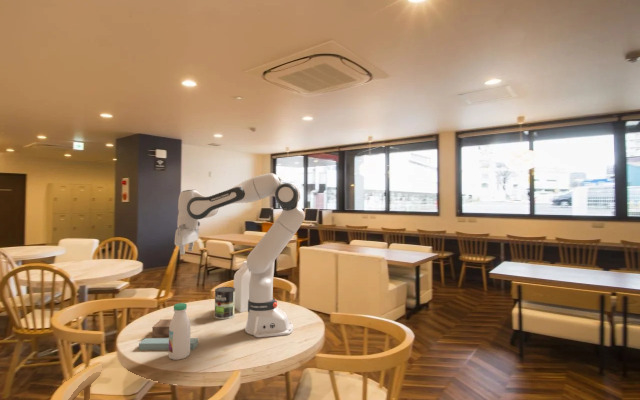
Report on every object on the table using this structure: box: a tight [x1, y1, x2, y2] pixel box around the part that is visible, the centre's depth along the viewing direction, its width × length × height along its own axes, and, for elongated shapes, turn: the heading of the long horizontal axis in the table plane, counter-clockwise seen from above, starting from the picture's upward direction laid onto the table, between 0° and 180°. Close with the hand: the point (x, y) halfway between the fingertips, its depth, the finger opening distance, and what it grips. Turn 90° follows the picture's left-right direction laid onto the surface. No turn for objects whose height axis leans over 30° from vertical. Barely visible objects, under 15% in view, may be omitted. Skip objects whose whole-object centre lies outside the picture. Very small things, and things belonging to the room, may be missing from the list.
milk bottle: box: [168, 302, 191, 361], centre depth 126 cm, size 8×8×20 cm
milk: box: [233, 260, 251, 313], centre depth 183 cm, size 12×12×26 cm
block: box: [151, 318, 172, 338], centre depth 146 cm, size 9×9×5 cm
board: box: [138, 337, 199, 351], centre depth 133 cm, size 22×5×3 cm, turn 92°
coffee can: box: [214, 286, 235, 320], centre depth 170 cm, size 10×10×14 cm
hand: (186, 252), depth 153 cm, fingers open, 8 cm apart
